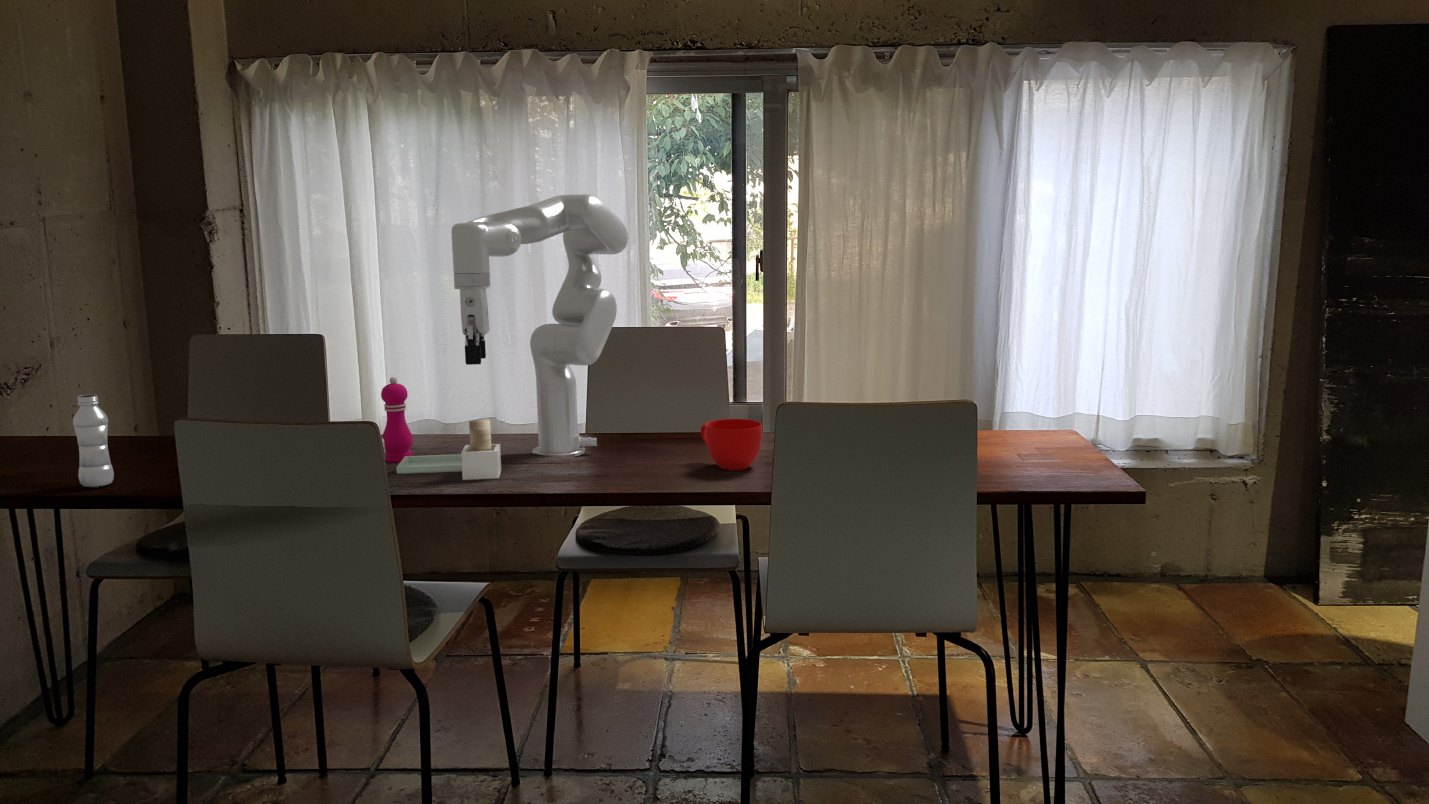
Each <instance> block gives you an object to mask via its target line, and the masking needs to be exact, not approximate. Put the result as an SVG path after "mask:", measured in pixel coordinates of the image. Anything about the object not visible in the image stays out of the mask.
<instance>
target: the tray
mask: <svg viewBox="0 0 1429 804" xmlns="http://www.w3.org/2000/svg"><path fill="white" fill-rule="evenodd" d="M458 472H460V473H462V458H461V453H457V454H455V453H454V454H434V455H432V454H430V455H429V454H428V455H412V456H405V457H404V458H403V460H402V461H401V462H398V464H397V466H396V475H409V474H410V475H411V474H412V475H413V474H433V473H434V474H437V473H458Z"/></svg>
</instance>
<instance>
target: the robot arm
mask: <svg viewBox="0 0 1429 804" xmlns="http://www.w3.org/2000/svg"><path fill="white" fill-rule="evenodd" d="M560 234H563V235H562V241H563V245H564V249H565V253H566V256H567V257H566V258H567V263H568V269H567V273H566V276H565V278H564V280H563V283H562V284H561V287H560V289H559V291H558V293H557V296H556V298H555V300H554V303H553V305H552V309H551V311H552V312H551V314H552V317H553V319H554V321H556V322H557V323H546V324H545V323H544V324H542V325H540V326H538V327H536V328H535V330H534V331H533V332H532V333H531V336H530V339H529V340H530V341H529V342H530V343H529V346H530V352H531V356H532V357H531V358H532V360H533V365H534V372H535V373H534V374H535V382H536V383H535V385H536V409H537V433H538V446H536V447H534V448H533V449H532V454H536V455H540V456H549V457H550V456H551V457H552V456H554V457H555V456H556V457H557V456H559V457H561V456H569V455H574V457H579V456H581V455H584V453H585V452H586V448H585V446H589V447H598V444H597V443H598V442H597V441H598V440H597V439H598V438H597V437H592V436H588V437H584V436H580V432H579V428H578V427H579V426H578V398H577V397H578V396H577V394H578V393H577V381H576V377H575V373H574V371H573V370H572V368H571V366H590V365H592V364H595V362H597V360H598V359H599V357H600V356H601V354H602V351H603V350H604V347H605V345H606V343H607V340H608V338H609V335H610V333H611V331H612V328H613V327H614V323H615V321H616V317H617V312H618V309H617V307H618V306H617V302H616V298H615V296H614V294H613V293H611V292H610V291H609V290H607V289H604V288H600V286H601V283H602V274H601V270H600V268H599V266H598V265H597V263H596V259H595V258H594V256H593V255H617V254H620V253H621V252H623V251H624V250H625V249H626V247H627V246H628V243H629V233H628V230H627V227H626V226H625V223H624V222H623V221H622V220H621V219H620V218H619V217H618V216H617V215H616V213H615V212H613V211H612V209H610V207H608V206H607V204H605V203H604V202H603V201H602V200H600V199H599V198H597V197H596V196H594V195H591V194H586V193H585V194H561V195H555V196H552V197H549V198H546V199H544V200H541V201H538V202H536V203H532V204H529V205H527V206H522V207H517V208H513V209H510V210H504V211H500V212H497V213H491V214H487V215H484V216H481V217H478V218H475V219H472V220H469V221H467V222H459V223H456V224H453V226H452V227H451V247H452V248H451V250H452V252H451V253H452V265H453V266H452V270H453V285H454V287H453V289H454V290H459V299H460V300H459V303H460V306H459V307H460V317H461V318H460V319H461V331H462V334H463V335H464V336H465V337H464V338H465V339H464V344H465V345H464V357H465V358H464V359H465V360H464V361H465V362H464V363H465V364H466V365H469V366H470V365H481V364H482V359H486V357H487V353H486V339H485V336H486V335H487V334H488V333H489V332H490V321H489V308H488V296H487V295H488V294H487V289H490V288H491V272H490V271H491V269H490V257H493V258H494V257H496V258H498V257H499V258H500V257H503V258H504V257H509V256H512V255H514V254H515V253H516V252H517V251H518V250H519V249H520V247H521V246H522V245H528V244H535V243H540V242H541V243H542V242H543V241H546V240H547V239H551V238H553V237H555V236H558V235H560Z"/></svg>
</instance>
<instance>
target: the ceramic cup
mask: <svg viewBox="0 0 1429 804" xmlns="http://www.w3.org/2000/svg"><path fill="white" fill-rule="evenodd" d="M700 435H701V438H702V440H703V442H704V443H705V444H706V447H707V449H708V452H709V454H710V456H711V458H712V459H713V461H714V462H715V463H716V465H717V466H718V467H719V468H720V469H721V468H722V470H725V469H727V470H726V471H741V470H742V471H743V470H746V469H748V468H749V467H750V465H752V463H753V462H754V460H755V459H756V458H757V456H758V454H759V451H760V448H761V445H762V436H763V423H762V422H760V421H757V420H754V419H745V418H725V419H723V418H722V419H717V420H716V419H715V420H710V421H707V422H706V423H704V424H703V425H702V426H701V427H700Z"/></svg>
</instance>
